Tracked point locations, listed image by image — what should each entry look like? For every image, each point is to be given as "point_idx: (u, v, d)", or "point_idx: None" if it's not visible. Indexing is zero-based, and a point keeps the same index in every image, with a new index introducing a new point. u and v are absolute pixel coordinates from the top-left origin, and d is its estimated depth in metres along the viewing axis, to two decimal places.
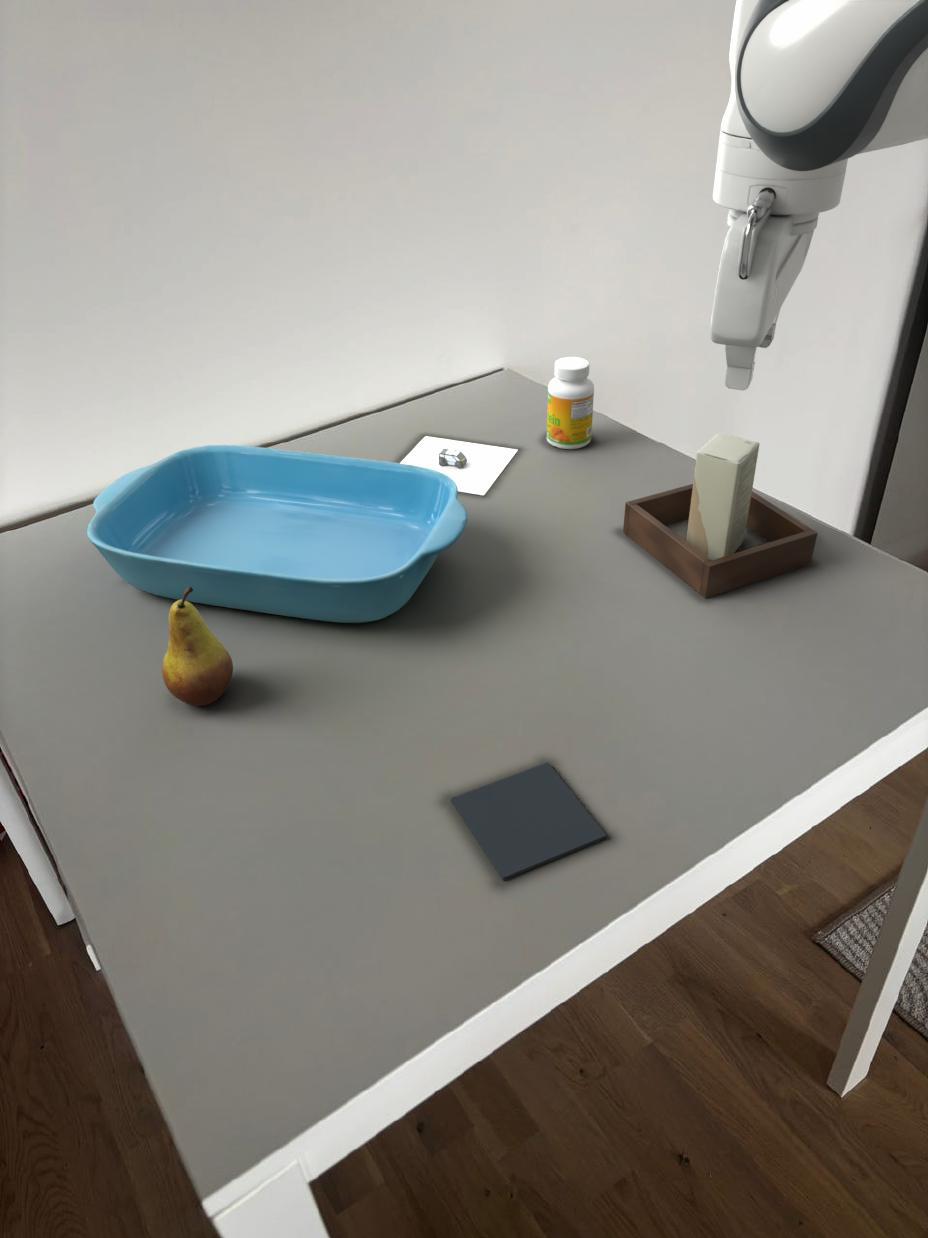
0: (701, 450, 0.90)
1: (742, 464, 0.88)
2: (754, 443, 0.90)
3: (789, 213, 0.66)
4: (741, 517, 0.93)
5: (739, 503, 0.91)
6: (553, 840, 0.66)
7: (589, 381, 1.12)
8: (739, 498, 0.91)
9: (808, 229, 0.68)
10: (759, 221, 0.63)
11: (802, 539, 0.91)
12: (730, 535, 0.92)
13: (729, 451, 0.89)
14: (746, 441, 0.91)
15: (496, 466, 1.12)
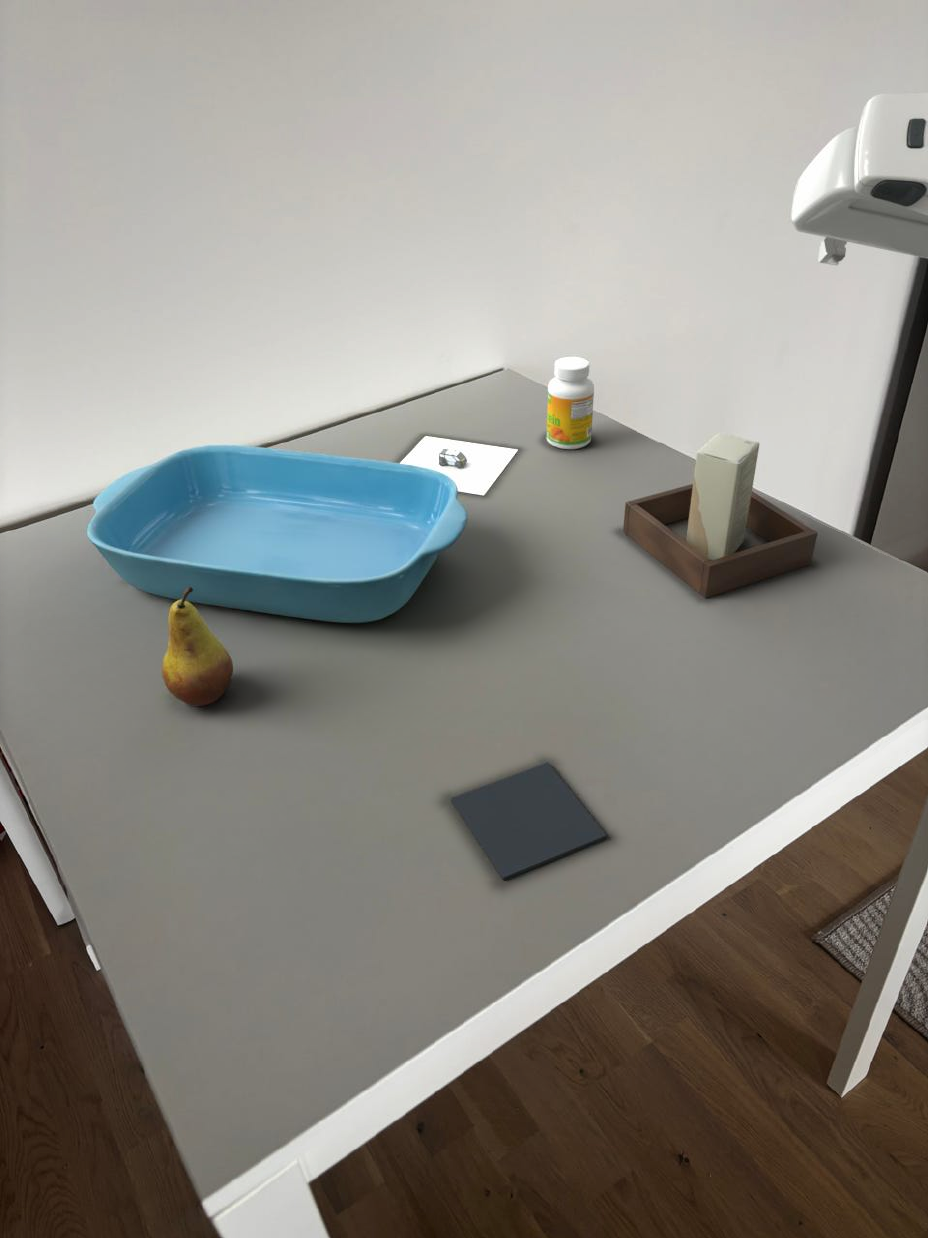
0: (701, 450, 0.90)
1: (742, 464, 0.88)
2: (754, 443, 0.90)
3: None
4: (741, 517, 0.93)
5: (739, 503, 0.91)
6: (553, 840, 0.66)
7: (589, 381, 1.12)
8: (739, 498, 0.91)
9: None
10: None
11: (802, 539, 0.91)
12: (730, 535, 0.92)
13: (728, 451, 0.89)
14: (746, 441, 0.91)
15: (496, 466, 1.12)
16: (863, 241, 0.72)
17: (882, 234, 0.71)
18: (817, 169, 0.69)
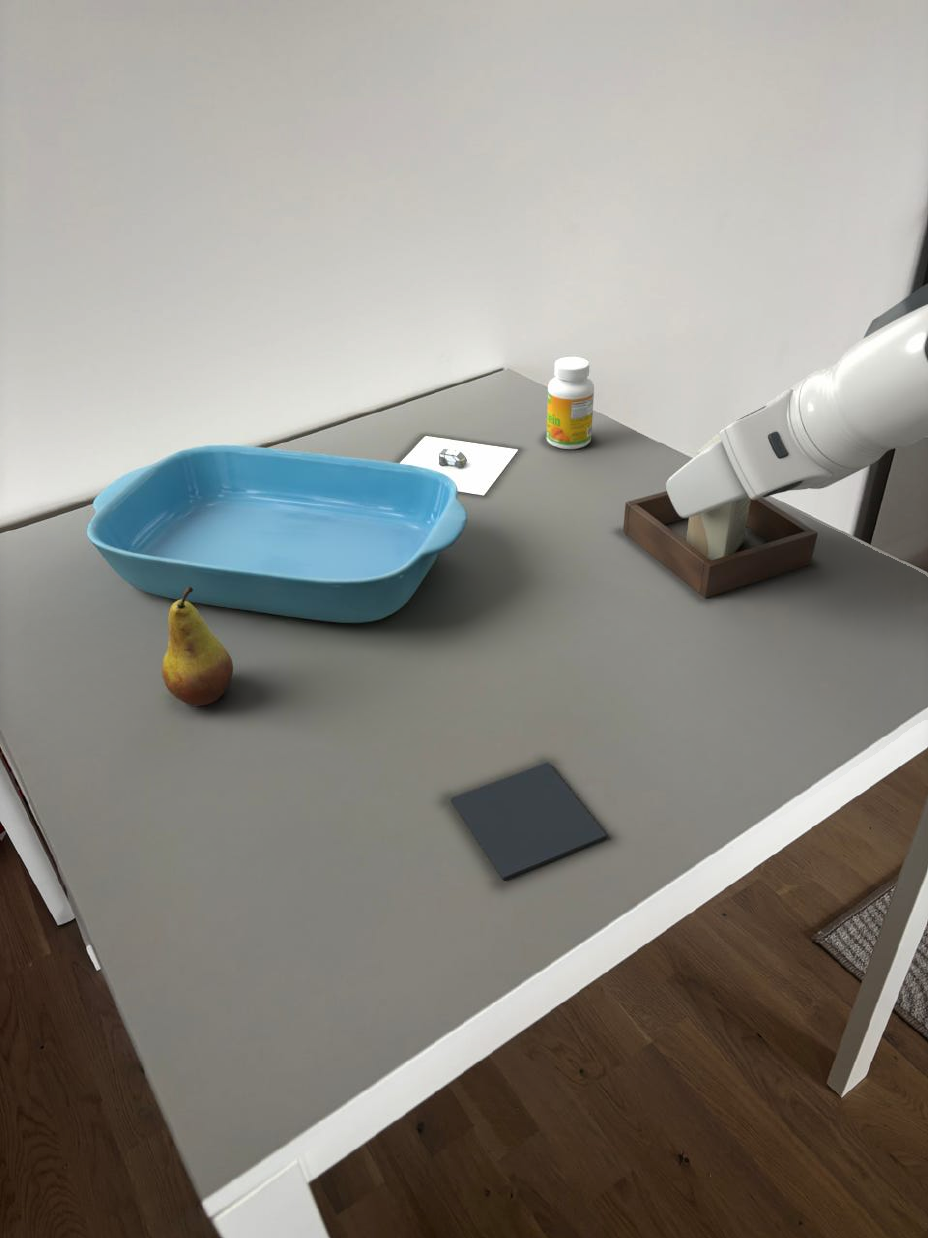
0: (701, 450, 0.90)
1: None
2: None
3: None
4: (741, 517, 0.93)
5: (739, 503, 0.91)
6: (553, 840, 0.66)
7: (589, 381, 1.12)
8: None
9: None
10: None
11: (802, 539, 0.91)
12: (730, 535, 0.92)
13: None
14: None
15: (496, 466, 1.12)
16: None
17: None
18: (695, 480, 0.81)
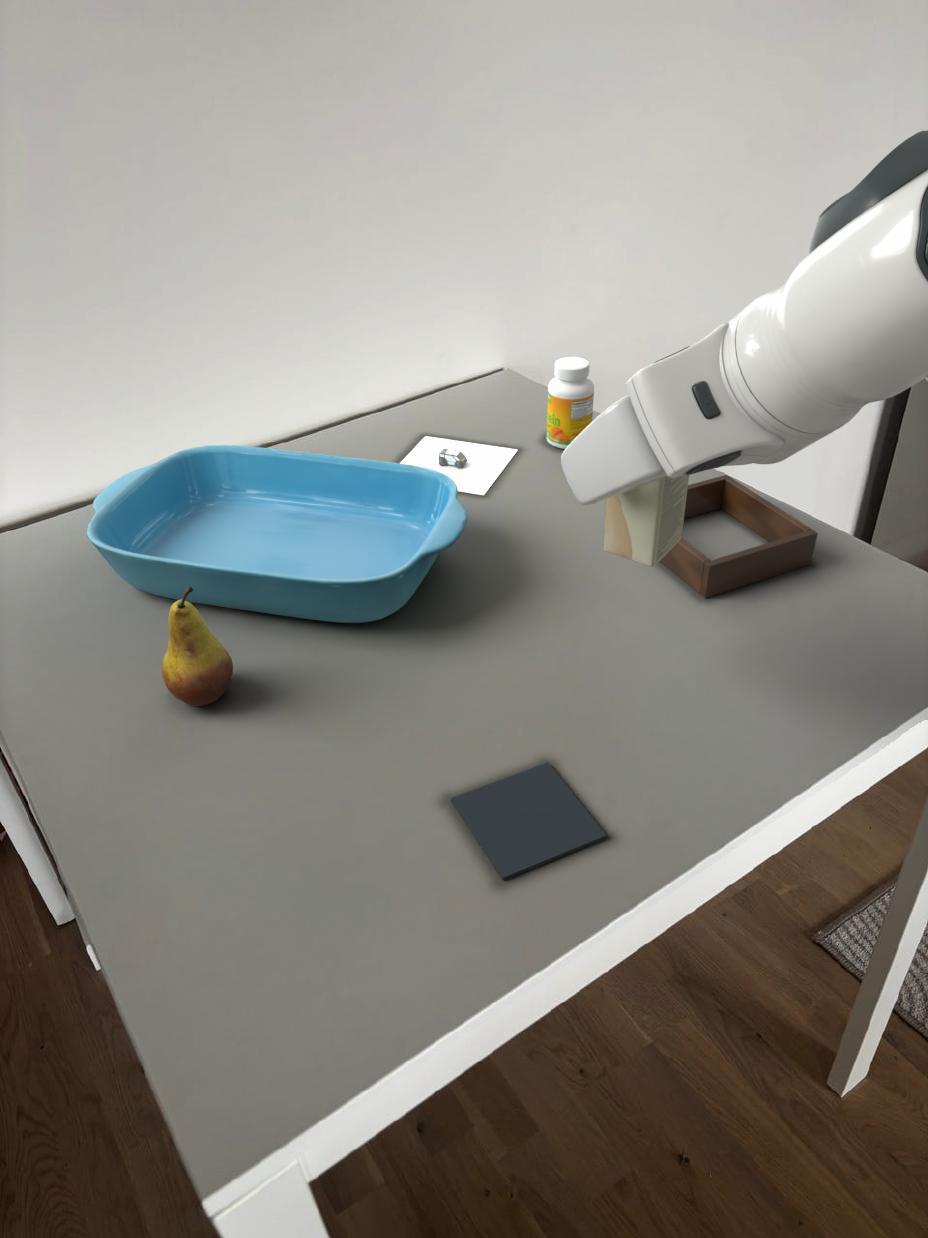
0: None
1: None
2: None
3: None
4: (675, 506, 0.71)
5: (671, 486, 0.69)
6: (553, 840, 0.66)
7: (589, 381, 1.12)
8: (670, 480, 0.68)
9: None
10: None
11: (802, 539, 0.91)
12: (659, 529, 0.70)
13: None
14: None
15: (496, 465, 1.12)
16: None
17: None
18: (595, 452, 0.58)
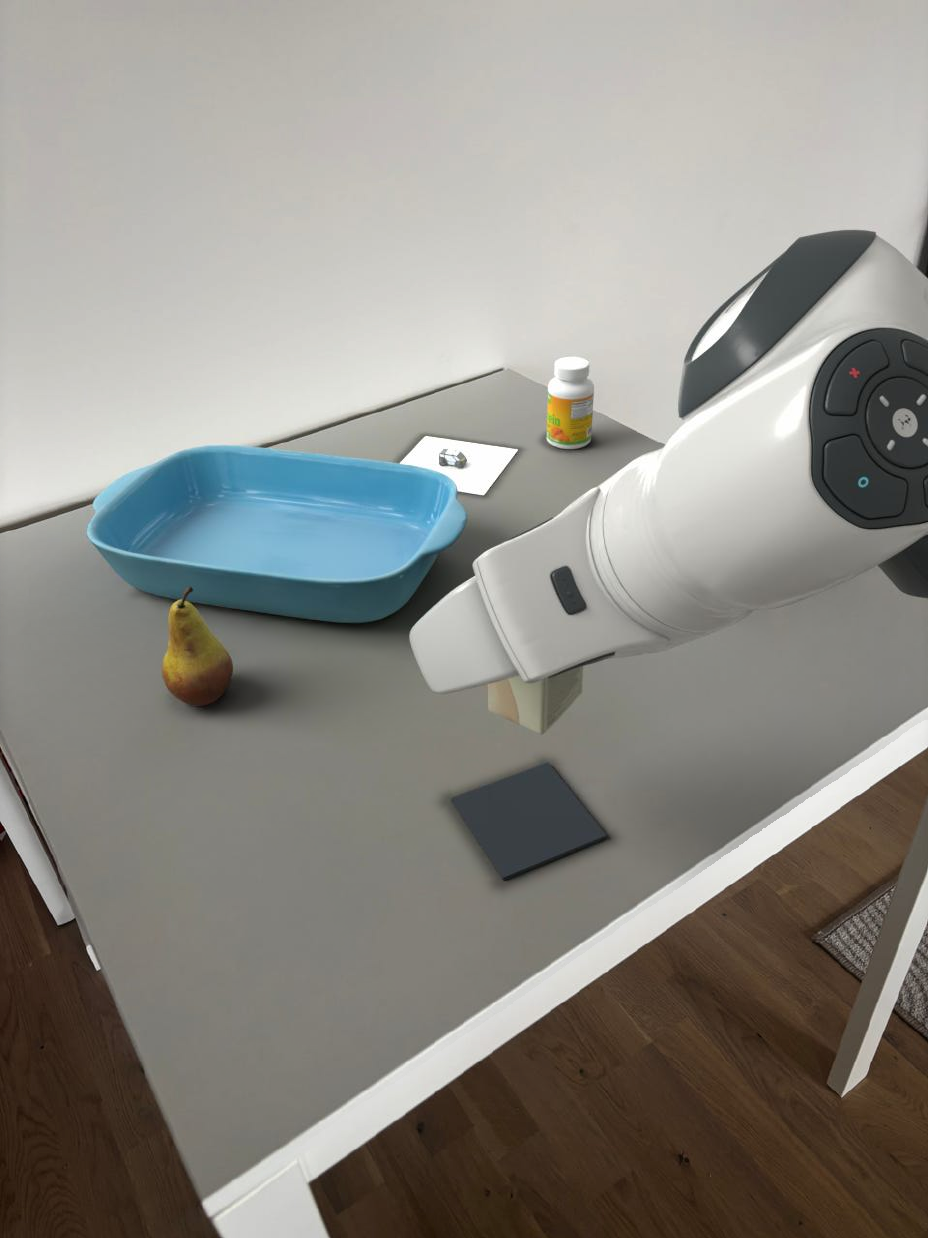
0: None
1: None
2: None
3: None
4: None
5: None
6: (553, 840, 0.66)
7: (589, 381, 1.12)
8: None
9: None
10: None
11: None
12: (547, 695, 0.58)
13: None
14: None
15: (496, 465, 1.12)
16: None
17: None
18: (442, 639, 0.47)
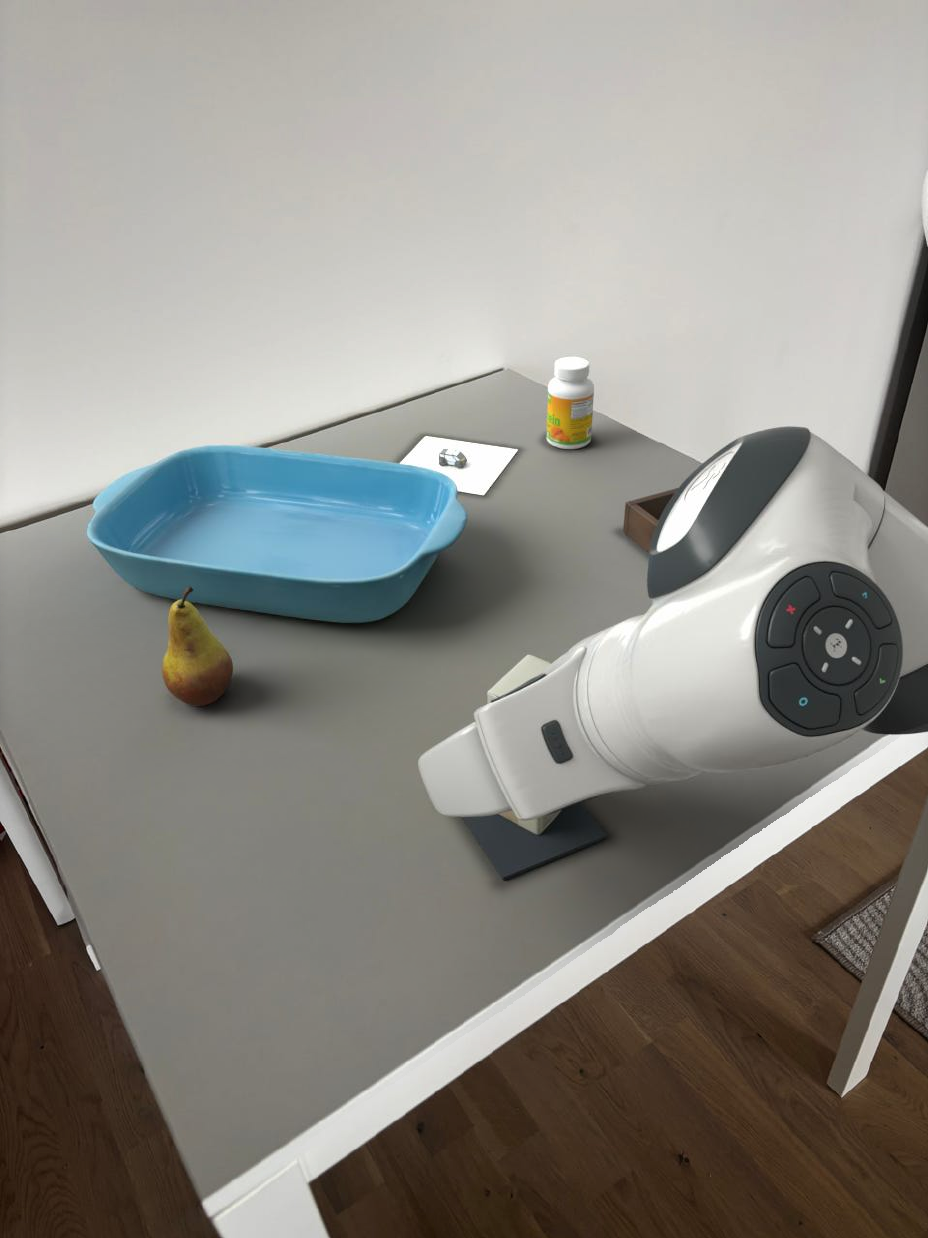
0: (493, 690, 0.62)
1: None
2: None
3: None
4: None
5: None
6: (553, 840, 0.66)
7: (589, 381, 1.12)
8: None
9: None
10: None
11: None
12: None
13: None
14: None
15: (496, 465, 1.12)
16: None
17: None
18: (447, 773, 0.54)
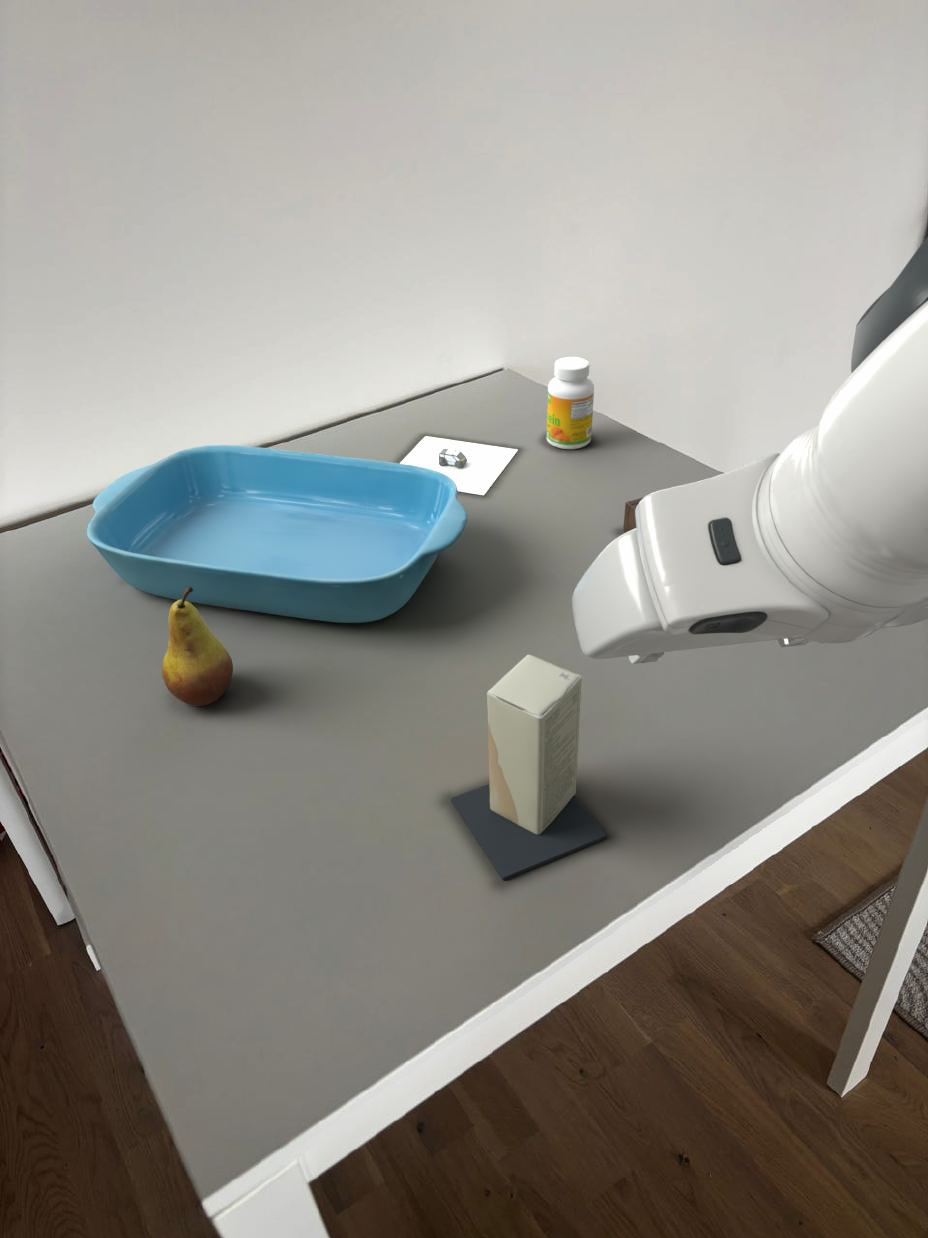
0: (493, 690, 0.62)
1: (548, 717, 0.60)
2: (573, 678, 0.62)
3: None
4: (562, 772, 0.65)
5: (554, 760, 0.63)
6: (553, 840, 0.66)
7: (589, 381, 1.12)
8: (553, 755, 0.63)
9: None
10: None
11: None
12: (542, 802, 0.65)
13: (532, 693, 0.61)
14: (562, 673, 0.63)
15: (496, 466, 1.12)
16: (687, 648, 0.51)
17: (710, 638, 0.50)
18: (597, 591, 0.47)
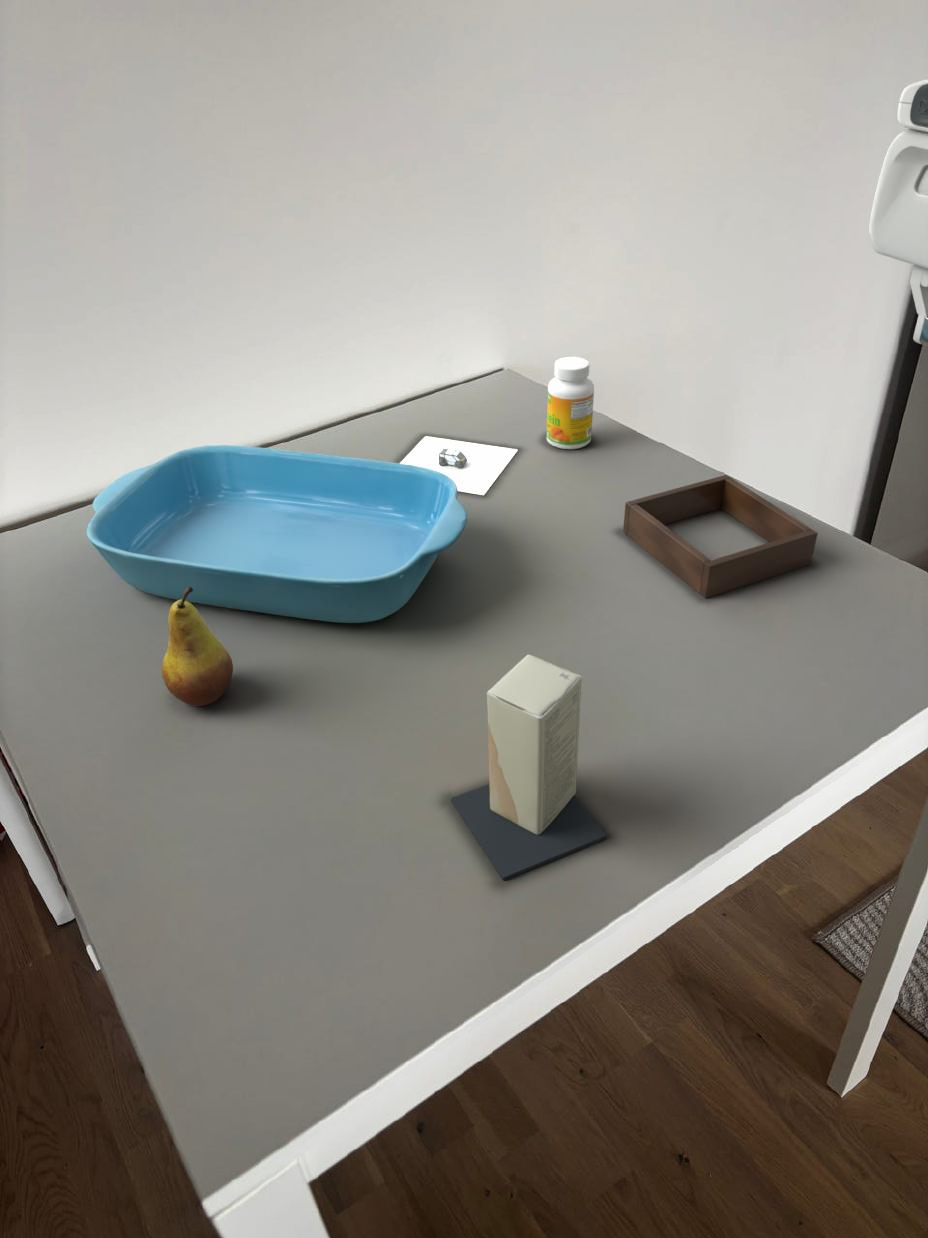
0: (493, 690, 0.62)
1: (548, 717, 0.60)
2: (573, 677, 0.62)
3: None
4: (562, 772, 0.65)
5: (554, 760, 0.63)
6: (553, 840, 0.66)
7: (589, 381, 1.12)
8: (553, 755, 0.63)
9: None
10: None
11: (802, 539, 0.91)
12: (542, 802, 0.65)
13: (532, 693, 0.61)
14: (562, 673, 0.63)
15: (496, 465, 1.12)
16: None
17: None
18: None
